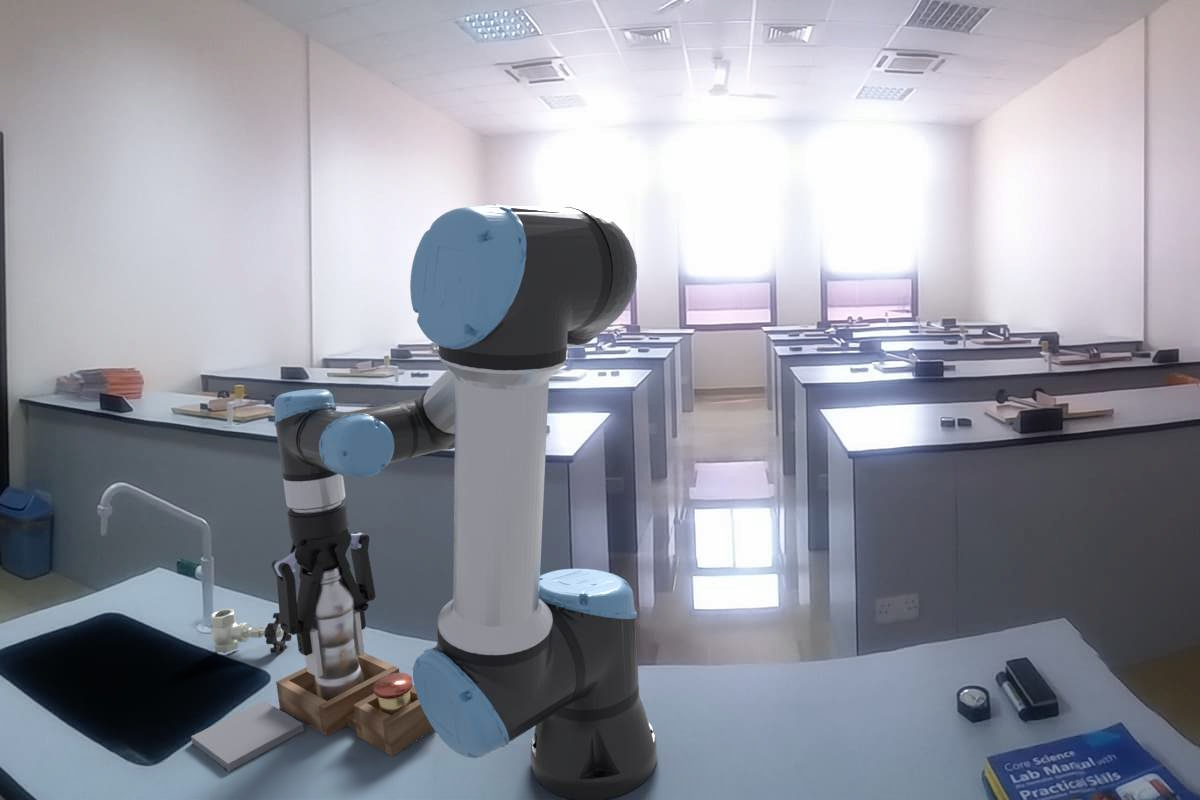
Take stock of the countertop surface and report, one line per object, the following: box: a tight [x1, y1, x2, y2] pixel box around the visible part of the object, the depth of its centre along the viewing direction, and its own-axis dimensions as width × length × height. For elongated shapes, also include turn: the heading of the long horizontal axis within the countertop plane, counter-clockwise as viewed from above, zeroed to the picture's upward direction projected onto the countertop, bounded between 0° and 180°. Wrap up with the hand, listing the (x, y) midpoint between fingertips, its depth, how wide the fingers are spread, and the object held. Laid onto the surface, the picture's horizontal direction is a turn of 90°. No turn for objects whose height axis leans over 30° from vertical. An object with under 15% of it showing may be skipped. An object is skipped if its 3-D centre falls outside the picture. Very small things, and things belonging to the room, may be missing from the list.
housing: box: [275, 652, 435, 757], centre depth 105 cm, size 23×12×4 cm, turn 52°
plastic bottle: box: [312, 565, 364, 701], centre depth 107 cm, size 6×7×20 cm
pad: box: [190, 700, 305, 772], centre depth 101 cm, size 10×10×1 cm
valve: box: [210, 608, 293, 654], centre depth 125 cm, size 7×7×12 cm
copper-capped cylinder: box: [374, 672, 413, 715], centre depth 100 cm, size 5×5×7 cm
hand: (336, 662), depth 108 cm, fingers closed on plastic bottle, 6 cm apart
